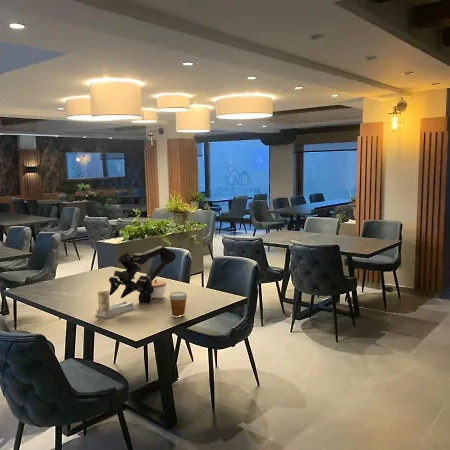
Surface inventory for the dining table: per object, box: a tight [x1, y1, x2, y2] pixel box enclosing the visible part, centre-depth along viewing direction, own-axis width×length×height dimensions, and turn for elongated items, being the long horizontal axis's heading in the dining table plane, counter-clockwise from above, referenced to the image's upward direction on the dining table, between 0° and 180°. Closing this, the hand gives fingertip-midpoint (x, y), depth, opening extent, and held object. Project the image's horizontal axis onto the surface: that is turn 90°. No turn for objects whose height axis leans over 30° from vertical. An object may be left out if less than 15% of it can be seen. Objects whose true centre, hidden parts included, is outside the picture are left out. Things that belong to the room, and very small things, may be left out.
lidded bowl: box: [151, 279, 167, 299], centre depth 281 cm, size 13×13×11 cm
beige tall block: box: [97, 289, 110, 316], centre depth 246 cm, size 5×3×12 cm, turn 144°
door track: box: [95, 300, 135, 319], centre depth 253 cm, size 20×8×4 cm, turn 144°
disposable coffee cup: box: [168, 291, 188, 316], centre depth 247 cm, size 10×10×12 cm
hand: (115, 296), depth 252 cm, fingers open, 9 cm apart
